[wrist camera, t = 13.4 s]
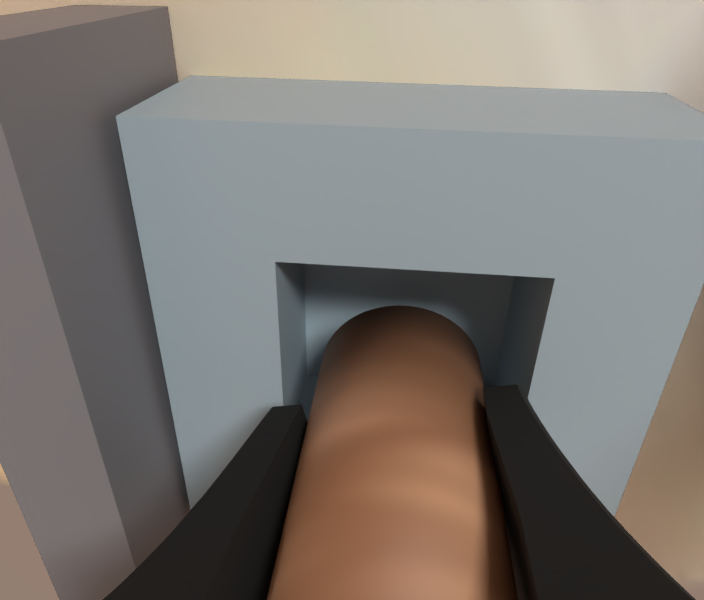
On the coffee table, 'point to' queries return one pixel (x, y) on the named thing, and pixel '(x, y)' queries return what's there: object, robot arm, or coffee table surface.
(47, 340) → the charcoal wall
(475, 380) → the dowel
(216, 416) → the socket block
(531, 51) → the coffee table surface
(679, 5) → the coffee table surface
